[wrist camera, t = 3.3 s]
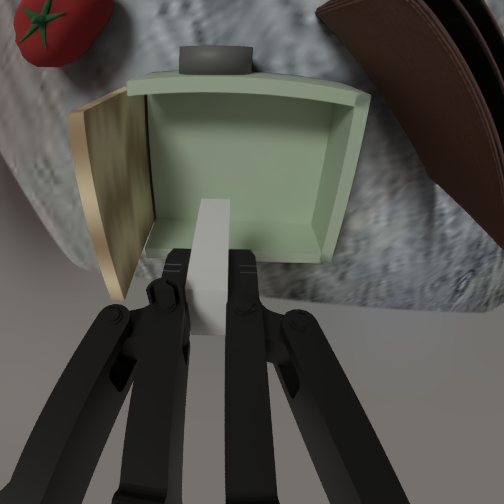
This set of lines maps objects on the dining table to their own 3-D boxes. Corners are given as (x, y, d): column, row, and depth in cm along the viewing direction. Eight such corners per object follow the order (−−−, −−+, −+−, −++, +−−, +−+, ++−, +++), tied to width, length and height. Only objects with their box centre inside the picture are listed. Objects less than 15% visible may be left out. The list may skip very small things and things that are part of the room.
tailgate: (134, 82, 19) (64, 114, 11) (148, 81, 19) (85, 111, 11) (145, 214, 27) (110, 299, 19) (157, 214, 27) (125, 301, 19)
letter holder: (428, 178, 26) (510, 268, 15) (311, 11, 17) (396, -22, 6) (488, 129, 22) (580, 197, 11) (393, -38, 13) (508, -64, 2)
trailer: (152, 49, 18) (126, 51, 13) (345, 60, 19) (376, 66, 15) (163, 234, 29) (150, 275, 25) (312, 239, 30) (324, 280, 26)
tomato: (138, -14, 14) (100, -31, 9) (99, 71, 19) (53, 85, 13) (64, -24, 12) (15, -33, 6) (32, 54, 16) (-19, 68, 10)
